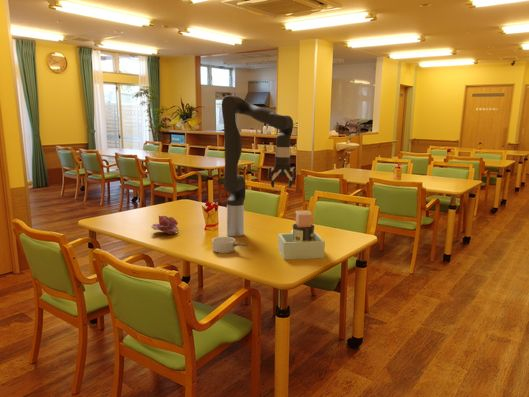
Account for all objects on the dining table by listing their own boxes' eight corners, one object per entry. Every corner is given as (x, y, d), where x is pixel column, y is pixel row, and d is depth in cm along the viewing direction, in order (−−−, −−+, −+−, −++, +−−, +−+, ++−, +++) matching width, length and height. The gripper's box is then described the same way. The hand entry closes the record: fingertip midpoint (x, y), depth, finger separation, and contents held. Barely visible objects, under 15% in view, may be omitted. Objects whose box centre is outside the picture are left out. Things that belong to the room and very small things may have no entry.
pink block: (298, 227, 192) (298, 213, 191) (295, 224, 198) (295, 210, 197) (311, 227, 193) (311, 213, 192) (308, 223, 199) (308, 210, 198)
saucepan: (239, 259, 190) (239, 247, 189) (207, 251, 201) (206, 240, 200) (254, 253, 199) (254, 241, 198) (222, 245, 210) (222, 235, 209)
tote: (283, 259, 190) (284, 242, 188) (278, 249, 205) (278, 233, 203) (324, 258, 193) (324, 241, 191) (315, 247, 208) (316, 232, 206)
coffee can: (314, 251, 202) (315, 223, 200) (312, 258, 192) (313, 228, 190) (293, 249, 204) (294, 222, 202) (290, 256, 194) (291, 227, 192)
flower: (149, 232, 222) (154, 214, 223) (151, 229, 237) (155, 212, 237) (176, 239, 226) (181, 221, 226) (176, 235, 240) (181, 218, 240)
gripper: (269, 156, 203) (268, 188, 207) (297, 156, 205) (296, 188, 209) (267, 154, 211) (266, 186, 214) (295, 155, 213) (293, 186, 216)
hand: (281, 187), depth 211 cm, fingers open, 8 cm apart
